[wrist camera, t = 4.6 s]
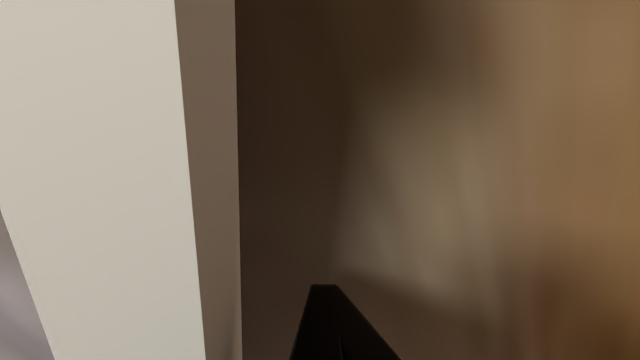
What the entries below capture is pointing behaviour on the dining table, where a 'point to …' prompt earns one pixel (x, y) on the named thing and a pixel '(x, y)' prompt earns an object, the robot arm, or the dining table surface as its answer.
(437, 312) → the dining table surface
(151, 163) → the gate
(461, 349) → the dining table surface
